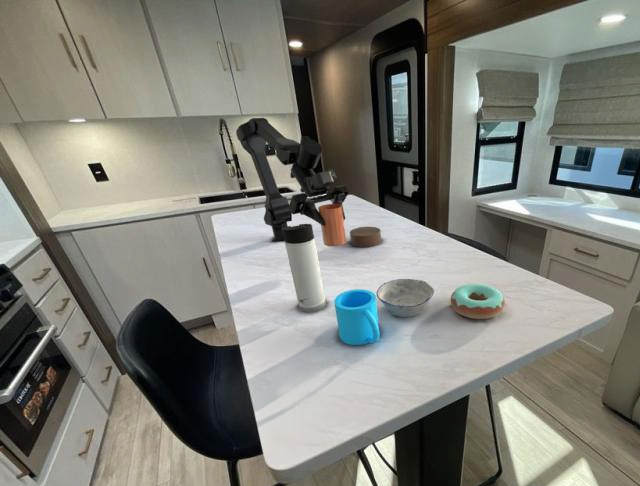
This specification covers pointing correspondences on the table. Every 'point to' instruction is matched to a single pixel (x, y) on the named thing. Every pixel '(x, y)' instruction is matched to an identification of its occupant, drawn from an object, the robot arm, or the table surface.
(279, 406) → the table surface
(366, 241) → the stand
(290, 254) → the travel mug
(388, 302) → the bowl
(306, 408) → the table surface
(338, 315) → the mug
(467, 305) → the donut
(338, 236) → the cup
